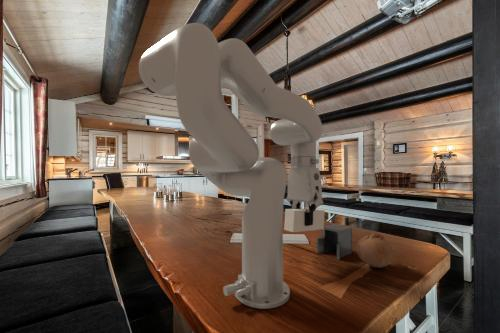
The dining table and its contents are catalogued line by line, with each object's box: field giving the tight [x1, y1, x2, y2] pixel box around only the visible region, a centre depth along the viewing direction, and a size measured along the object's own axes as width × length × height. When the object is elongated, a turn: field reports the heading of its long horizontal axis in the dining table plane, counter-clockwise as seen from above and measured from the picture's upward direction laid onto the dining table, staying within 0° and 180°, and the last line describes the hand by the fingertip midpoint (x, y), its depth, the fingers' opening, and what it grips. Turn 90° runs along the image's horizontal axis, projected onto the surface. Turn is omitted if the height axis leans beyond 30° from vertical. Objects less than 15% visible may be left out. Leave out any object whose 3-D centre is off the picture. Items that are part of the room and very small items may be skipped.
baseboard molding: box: [229, 231, 310, 245], centre depth 94 cm, size 31×3×12 cm
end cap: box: [316, 223, 353, 261], centre depth 79 cm, size 10×9×9 cm
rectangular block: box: [283, 208, 325, 233], centre depth 70 cm, size 14×4×6 cm, turn 126°
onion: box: [356, 232, 394, 269], centre depth 67 cm, size 10×9×10 cm
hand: (303, 223), depth 69 cm, fingers closed on rectangular block, 3 cm apart
